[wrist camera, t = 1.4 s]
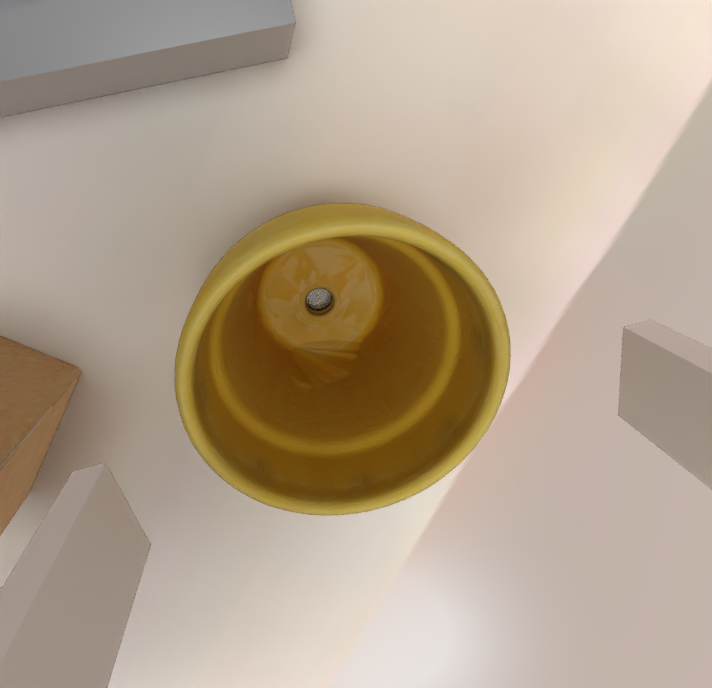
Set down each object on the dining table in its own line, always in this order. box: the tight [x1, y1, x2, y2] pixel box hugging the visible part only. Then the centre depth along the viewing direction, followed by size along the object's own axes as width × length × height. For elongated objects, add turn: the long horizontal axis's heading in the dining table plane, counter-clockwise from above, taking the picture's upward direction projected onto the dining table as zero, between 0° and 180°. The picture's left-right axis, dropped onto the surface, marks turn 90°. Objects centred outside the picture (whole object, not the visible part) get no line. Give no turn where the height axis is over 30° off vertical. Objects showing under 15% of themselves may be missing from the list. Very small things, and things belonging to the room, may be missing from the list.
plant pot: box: [175, 203, 511, 515], centre depth 18 cm, size 10×10×10 cm
